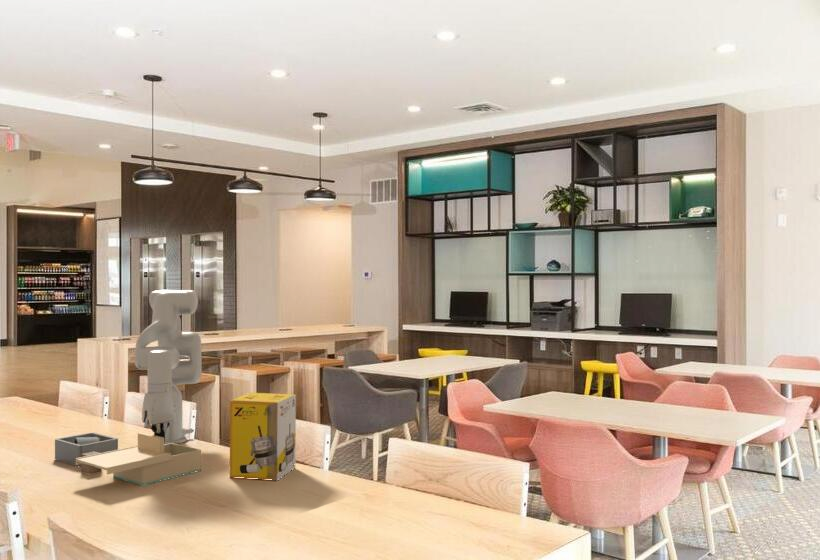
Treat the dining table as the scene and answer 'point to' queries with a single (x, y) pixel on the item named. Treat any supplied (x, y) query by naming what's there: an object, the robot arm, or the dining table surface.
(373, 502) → the dining table surface
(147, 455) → the lid
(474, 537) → the dining table surface
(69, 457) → the coaster tray
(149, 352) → the robot arm
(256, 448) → the packaging box
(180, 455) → the base
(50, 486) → the dining table surface
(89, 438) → the ceramic mug
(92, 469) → the walnut block
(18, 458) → the dining table surface
